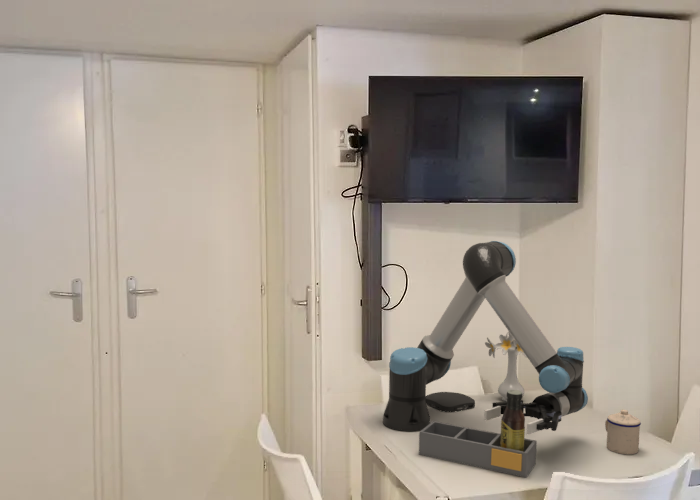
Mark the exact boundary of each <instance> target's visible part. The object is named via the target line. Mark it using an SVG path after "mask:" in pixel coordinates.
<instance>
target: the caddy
mask: <svg viewBox="0 0 700 500" xmlns="http://www.w3.org/2000/svg"><path fill="white" fill-rule="evenodd" d="M418 434H419V435H418V438H419V441H418V455H420V456H425V457H429V458H433V459H440V460H442V461H443V460H444V461H448V462H452V463H457V464H462V465H468V466H471V467H476V468H479V469H485V470H490V471H494V472H499V473H503V474H508V475H512V476H517V477H522V478H528V476H529V474H530V472H531V471H532V470H533V469H534V467H535V465H536V463H537V446H538V445H537V443H538V442H537V440H536V439H535V440H534V439H530V438H525V437H524V452H523V451H518V450H513V449H508V448H503V447H500V441H501V433H497V432H493V431H488V430H487V431H486V430H482V429H477V428H473V427H467V426H463V425H462V426H461V425H457V424H456V425H455V424H449V423H445V422H440V421H435V420H433V421H430V424H429V425H428V426H426V427H425V428H424V429H422V430H419V433H418Z"/></svg>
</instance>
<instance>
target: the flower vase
mask: <svg viewBox="0 0 700 500" xmlns="http://www.w3.org/2000/svg"><path fill="white" fill-rule="evenodd" d="M498 338H499V341H500V342H498V343H496V344H494V343H493V342H492V341H491V340H490V339H489V337H486V340H487V341H485V342H484V344H485V346H486V347H487V348H488V349H489V350H488V356H489V357H491V356H492V357H493V358H494V359H495V356H496V355H495V354H496V350H498V349H500V350H501V349H502V351H501V353H502V355H503V356H506V355H507V372H506V376H505V378H504V380H503V381H502V382H501V383H500V384H499V386H498V387H497V393H498V394H499V395H500V397H501V400H502V401H503V402H507V391H508V390H518V391H521V392H522V397H523V396H524V395H525V388H524V386H523V385H522V384H521V382H520V381H519V378H518V374H517V362H518V361H517V360H518V359H517V358H518V356H519V355H520V354H522V356H524V358H527V356H526V355H525V353H524V352H523V351H522V349H521V348H520V346H519V345H518V343H517V342H516V341H515V339H514V338H513V336H512V335H511V334H510V332H509V331H508V330H507V332H506V334H505V335H503V334H499V337H498Z"/></svg>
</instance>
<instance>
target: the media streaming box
mask: <svg viewBox="0 0 700 500" xmlns="http://www.w3.org/2000/svg"><path fill="white" fill-rule="evenodd" d="M425 400H426V404H427V406H429V407H431V408H434V409H435V410H437V411H440V410H441V412H443V411H445V413H456V412H455V411H457V412H462V411H467V410H471V409H474V408H475V406H476V400H475V399H473V397H470V396H469V395H466V394H463V393H460V392H452V391H436V392H433V393H430V394H427V395H426V396H425ZM461 410H462V411H461Z"/></svg>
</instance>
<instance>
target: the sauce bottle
mask: <svg viewBox="0 0 700 500" xmlns="http://www.w3.org/2000/svg"><path fill="white" fill-rule="evenodd" d="M522 399H523V396H522V392H521V391H518V390H508V391H507V406H506V409H505V411H504V414H502V416H501V421H500V434H501V441H500V447H503V448H508V449H513V450H518V451H523V452H524V438H525V433H526V432H525V431H526V426H525V422H526V416H524V413H525V412H524V413H523V412H522V410H521V400H522Z"/></svg>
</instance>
